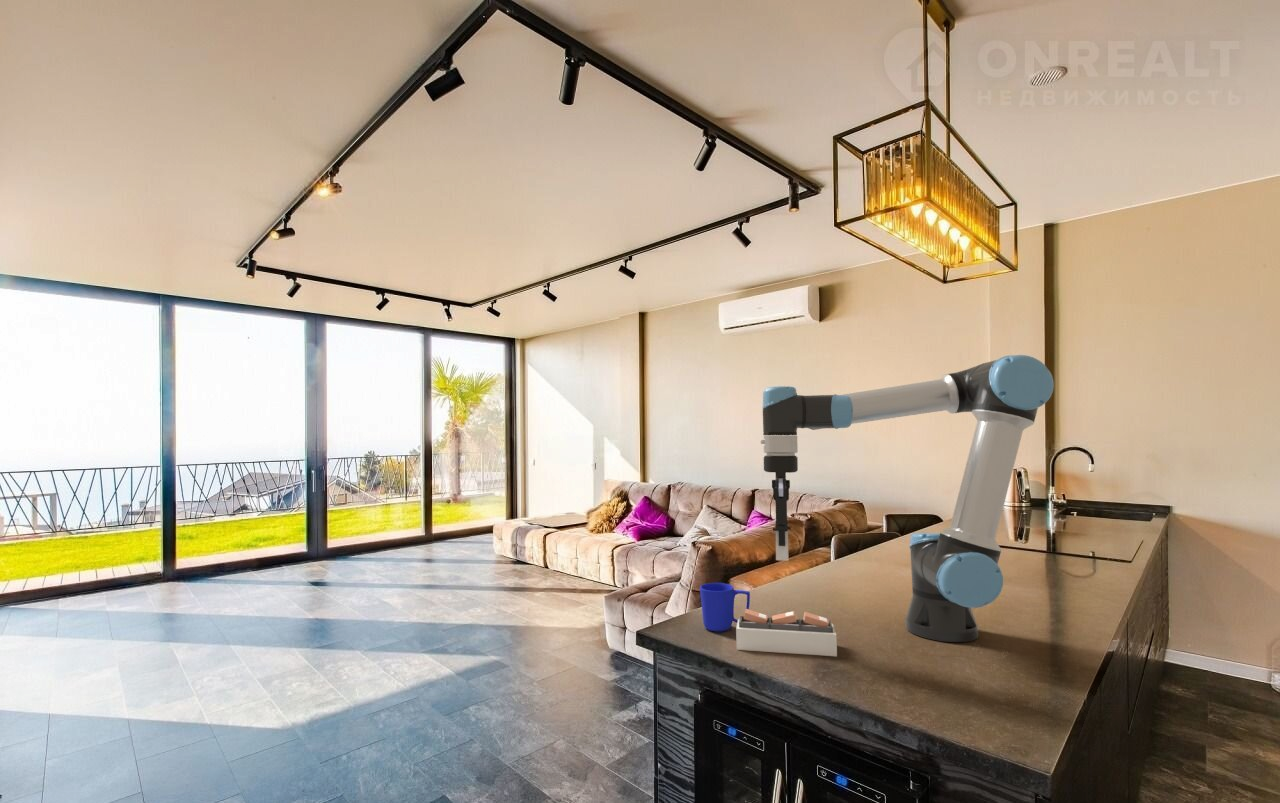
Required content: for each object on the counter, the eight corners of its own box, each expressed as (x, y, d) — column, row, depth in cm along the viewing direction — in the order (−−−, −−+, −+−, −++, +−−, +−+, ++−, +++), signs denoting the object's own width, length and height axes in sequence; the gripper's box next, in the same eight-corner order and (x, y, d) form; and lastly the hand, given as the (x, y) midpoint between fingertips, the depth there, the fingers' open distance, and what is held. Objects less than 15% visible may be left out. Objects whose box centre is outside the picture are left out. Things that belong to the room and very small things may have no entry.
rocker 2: (795, 617, 128) (793, 610, 129) (796, 621, 125) (794, 614, 126) (773, 621, 129) (772, 615, 130) (774, 626, 126) (772, 619, 127)
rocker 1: (765, 621, 130) (767, 615, 130) (765, 625, 127) (767, 619, 127) (744, 614, 131) (745, 608, 131) (743, 618, 128) (745, 612, 128)
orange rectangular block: (826, 624, 127) (827, 618, 127) (827, 629, 124) (828, 622, 124) (803, 617, 128) (804, 611, 128) (803, 622, 125) (805, 615, 125)
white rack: (833, 644, 128) (832, 619, 128) (837, 656, 121) (836, 629, 122) (738, 638, 133) (738, 614, 133) (736, 649, 126) (736, 624, 126)
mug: (750, 635, 135) (749, 592, 135) (699, 633, 137) (698, 590, 138) (751, 624, 143) (749, 583, 143) (702, 622, 145) (701, 582, 146)
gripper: (764, 453, 138) (766, 553, 136) (762, 455, 125) (764, 565, 124) (796, 453, 136) (798, 554, 134) (798, 455, 123) (800, 567, 122)
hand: (782, 559), depth 129 cm, fingers closed
